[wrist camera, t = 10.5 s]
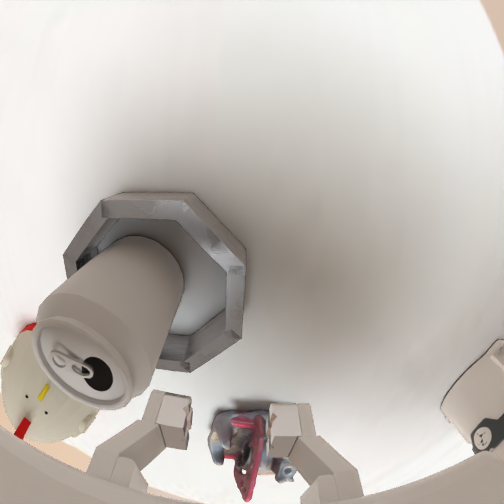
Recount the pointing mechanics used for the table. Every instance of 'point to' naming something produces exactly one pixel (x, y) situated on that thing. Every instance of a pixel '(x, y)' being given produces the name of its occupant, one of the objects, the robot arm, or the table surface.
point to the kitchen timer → (38, 397)
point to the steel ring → (206, 235)
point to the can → (109, 323)
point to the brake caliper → (246, 449)
